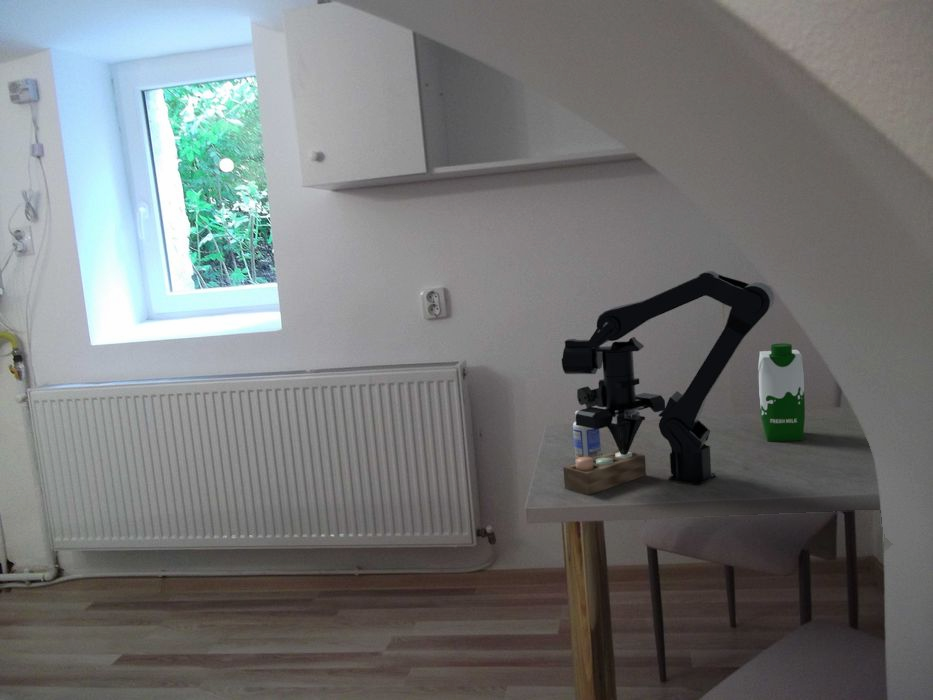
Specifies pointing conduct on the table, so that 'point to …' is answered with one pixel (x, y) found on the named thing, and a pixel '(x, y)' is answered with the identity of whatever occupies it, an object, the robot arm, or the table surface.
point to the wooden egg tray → (605, 473)
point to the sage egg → (604, 461)
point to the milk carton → (782, 393)
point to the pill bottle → (586, 441)
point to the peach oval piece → (584, 464)
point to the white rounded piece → (623, 455)
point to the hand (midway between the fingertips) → (623, 454)
